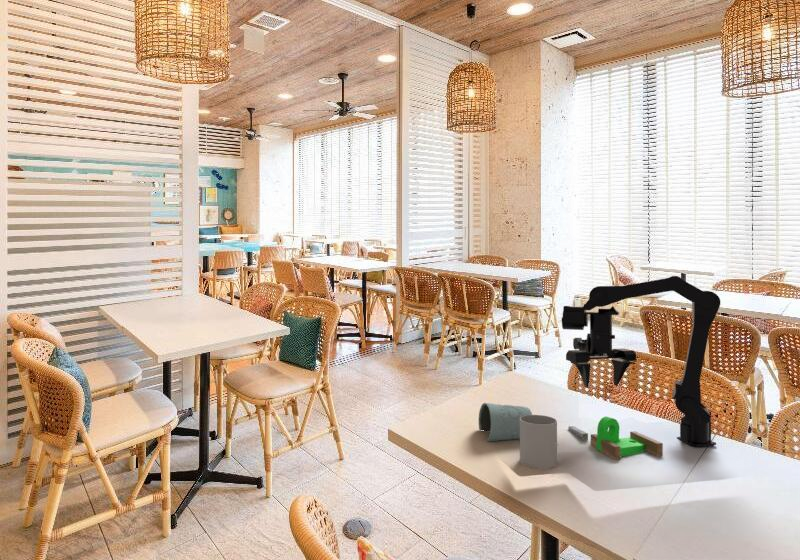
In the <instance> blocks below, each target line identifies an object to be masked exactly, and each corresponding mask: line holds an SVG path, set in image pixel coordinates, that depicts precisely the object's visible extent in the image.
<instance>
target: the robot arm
mask: <svg viewBox="0 0 800 560" xmlns="http://www.w3.org/2000/svg"><path fill="white" fill-rule="evenodd" d="M672 291H673V292H675V293H676V294H677V295H679V296H681V297H683V298H685V299H686V300H688V301H689V302H691V313H692V318H691V319H692V326H691V332H690V339H689V344H688V348H687V352H686V353H687V355H686V360H685V363H684V364H685V365H684V368H683V369H684V370H683V373H682V377H681V379H680V381H679V380H676V379H674V380H673V385H674V386H673V390H672V391H671V397H672V399H673V401H674V404H675V407H676V409H677V410H678V411H679V412H680V413H682V414H684V415H683V417H682V416H681V417H680V423H679V430H680V431H679V434H680V435H679V436H676V439H678V440H679V441H681V442H682V443H685V444H688V445H690V446H693V447H702V446H703V447H705V446H717V442H716V441H713V440H712V416H711V414H710V411H709V410H708V407H706V406H705V405H704V404H703V403H702V398H701V397H702V393H701V390H702V389H701V376H702V371H703V365H704V360H705V354H706V351H707V350H706V349H707V344H708V338H709V334H710V330H711V329H710V328H711V326H712V324H713V322H714V320H715V319H716V316H717V314H718V311H719V310H720V307H721V299H720V297H719V295H717V293H716V292H715V291H710V290H702V289H700V288H699V287H696V286H695V285H693V284H692V283H689V282H688V281H685V280H684V279H682V277H680V276H677V275H672V276H669V277H664V278H661V279H655V280H649V281H642V282H638V283H631V284H627V285H626V284H625V285H600V286H599V285H598V286H594V287H593V288H592V289H591V290H590V291H589V294H588V300H587V301H586V302H585V303H584V304H583V306H571V305H564V306H563V307H562V308H563V309H562V310H563V311H562V316H561V327H562V329H563V330H571V331H572V330H576V331H578V330H579V331H584V329H585V327H588V326H589V333H587V334H586V339H583V338H582V337H574V338H573V340H572V346H573V349H574V350H573V349H572V350H568V351H567V352H566V354H565V360H566V361H569V362H570V364H572V365H574V366H575V367H576V368H577V371H578V372H579V374H580V377H581V380H582V382H583V386H584V387H585V388H589V384H590V377H591V363H589V361H590V360H604V359H610V361H611V364H612V366H613V385H614V386H615V387H617V386H619V385H620V383H621V380H622V378H623V376H624V375H625V373H626V371H627V370H628V368H629V367H630V365H633V362H635V361H636V362H637V358H638V356H637V353H636V351H635V350H632V349H628V348H613V340H615V339H616V335H615V334H613V322H612V321H613V316H619V315H620V312H619V311H618V310H617V309H616V308H615V306H614V305H612V304H615V303H618V302H620V301H624V300H627V299H631V298H637V297H642V296H648V295H654V294H660V293H666V292H667V293H668V292H672ZM609 305H612V306H611V307H610V308H602V307H605V306H606V307H607V306H609ZM596 307H598V310H597V311H591V310H593V309H595V308H596Z"/></svg>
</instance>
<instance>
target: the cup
mask: <svg viewBox="0 0 800 560" xmlns="http://www.w3.org/2000/svg"><path fill="white" fill-rule="evenodd" d="M519 461H520V464H522V465H523V466H525V467H529V468H532V469H538V470H540V469H541V470H546V469H553V468H556V466H557V465H558V421H557V419H556V418H555V417H553V416H552V417H551V416H549V415H542V414H541V415H540V414H532V415H526V416H522V417H520V439H519Z"/></svg>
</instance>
